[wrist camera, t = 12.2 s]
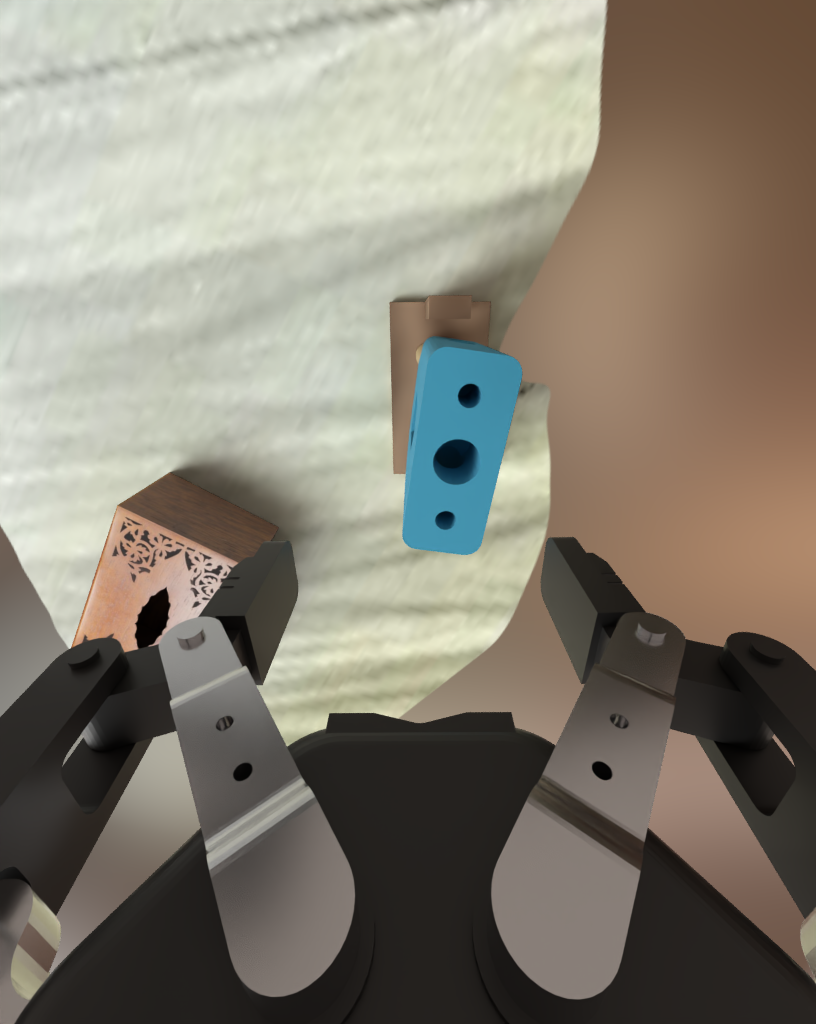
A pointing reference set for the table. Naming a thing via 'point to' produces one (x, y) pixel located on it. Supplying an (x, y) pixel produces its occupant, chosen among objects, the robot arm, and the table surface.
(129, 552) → the tissue box cover
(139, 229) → the table surface
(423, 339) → the peg stand
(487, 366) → the block
